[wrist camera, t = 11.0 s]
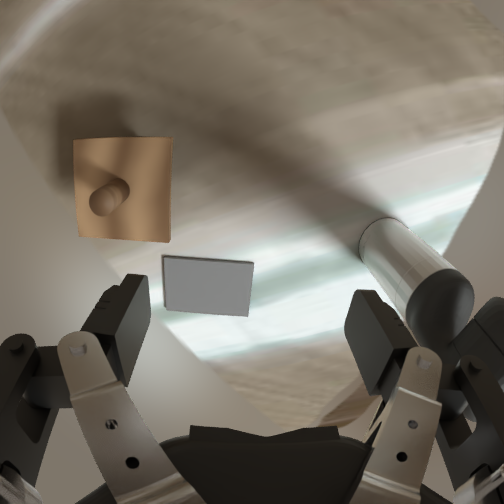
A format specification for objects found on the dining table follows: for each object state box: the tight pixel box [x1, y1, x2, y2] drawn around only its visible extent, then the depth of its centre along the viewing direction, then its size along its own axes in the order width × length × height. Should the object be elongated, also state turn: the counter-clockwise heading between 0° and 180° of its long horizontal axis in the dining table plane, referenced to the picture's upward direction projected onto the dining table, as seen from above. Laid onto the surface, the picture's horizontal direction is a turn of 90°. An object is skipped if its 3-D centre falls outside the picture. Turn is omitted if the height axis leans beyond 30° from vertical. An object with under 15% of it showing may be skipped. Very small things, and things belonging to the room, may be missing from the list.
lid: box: [73, 137, 173, 243], centre depth 30 cm, size 12×12×6 cm
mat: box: [164, 256, 254, 317], centre depth 49 cm, size 14×10×1 cm
